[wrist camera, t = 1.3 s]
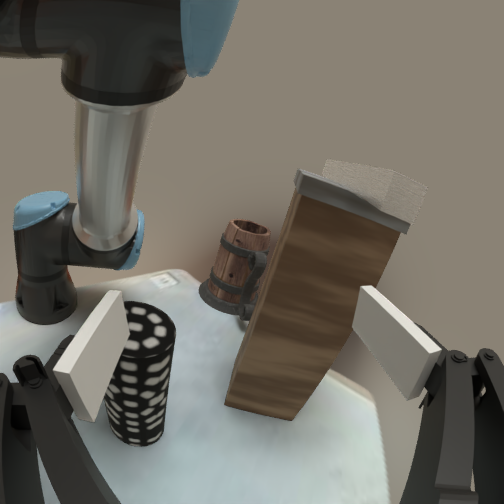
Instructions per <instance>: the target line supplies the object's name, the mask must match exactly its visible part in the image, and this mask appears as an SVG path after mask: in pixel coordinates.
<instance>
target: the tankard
mask: <svg viewBox="0 0 504 504" xmlns="http://www.w3.org/2000/svg"><path fill="white" fill-rule="evenodd" d="M270 234H271V231H270V230H269V229H268V228H267V227H265V226H262V225H259V224H257V223H254V222H252V221H248V220H243V219H234V220H230V222H229V224H228V226H227V228H226V230H225V232H224V233H223V234H222V238H221V241H220V242H221V244H220V247H219V250H218V254H217V257H216V260H215V264H214V266H213V267H212V270H211V273H210V278H209V279H207V280H206V281H205V282H204V283H202V284H201V285H200V287H199V294H200V297H201V298H202V299H203V301H204V302H205V303H206V304H208V305H209V306H211V307H212V308H214V309H216V310H218V311H221V312H223V313H227V314H231V315H239V317H240V319H241V320H245V321H250V319H251V316H252V313H253V310H254V308H255V305H256V302H257V299H258V294H257V292H256V291H257V289H258V287H259V283H260V277H261V275H262V274H263V272H264V270H265V267H266V264H267V258H266V256H267V255H268V252H269V241H270Z"/></svg>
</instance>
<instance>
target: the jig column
mask: <svg viewBox="0 0 504 504" xmlns="http://www.w3.org/2000/svg"><path fill="white" fill-rule="evenodd" d="M294 183H295V186H296V188H295V191H294V194H293V197H292V200H291V203H290V206H289V209H288V212H287V215H286V218H285V221H284V224H283V227H282V230H281V233H280V236H279V239H278V242H277V245H276V248H275V251H274V253H273V256H272V259H271V262H270V265H269V268H268V271H267V274H266V276H265V279H264V282H263V285H262V288H261V291H260V294H259V296H258V299H257V302H256V305H255V308H254V310H253V313H252V316H251V319H250V321H249V324H248V327H247V330H246V333H245V335H244V338H243V341H242V344H241V346H240V349H239V352H238V354H237V357H236V360H235V364H234V368H233V372H232V376H231V380H230V384H229V388H228V391H227V395H226V399H225V403H224V405H226V406H230V407H233V408H237V409H241V410H245V411H248V412H252V413H257V414H261V415H265V416H270V417H274V418H279V419H284V420H290V421H292V420H293V419H294V418H295V416H296V415H297V414H298V412H299V411H300V410H301V408H302V407H303V406H304V404H305V403H306V401H307V400H308V399H309V397H310V396H311V395H312V393H313V392H314V390H315V389H316V387H317V386H318V384H319V383H320V382H321V380H322V379H323V377H324V376H325V374H326V373H327V371H328V370H329V368H330V366H331V365H332V363H333V362H334V360H335V359H336V357H337V355H338V354H339V352H340V351H341V349H342V347H343V346H344V344H345V342H346V341H347V339H348V337H349V336H350V334H351V332H352V331H353V328H352V324H353V320H354V315H355V311H356V306H357V301H358V296H359V291H360V286H371V285H372V286H373V287H374V288H376V286H377V284H378V282H379V280H380V278H381V276H382V274H383V271H384V269H385V267H386V265H387V263H388V261H389V259H390V256H391V254H392V252H393V249H394V247H395V245H396V243H397V240H398V238H399V235H400V233H401V232H402V233H404V234H407V231H408V229H409V226H410V223H408V222H406V221H403V220H401V219H399V218H397V217H394V216H392V215H390V214H387V213H385V212H383V211H380V210H379V209H377V208H376V207H374V206H373V205H371V204H369V203H368V202H366V201H365V200H363V199H362V198H360V197H358V196H357V195H355V194H354V193H352V192H350V191H349V190H347V189H345V188H344V187H342V186H340V185H339V184H337V183H335V182H333V181H332V180H330V179H327V178H325V177H322V176H319V175H316V174H313V173H310V172H307V171H304V170H301V169H298V170H297V173H296V176H295V179H294Z"/></svg>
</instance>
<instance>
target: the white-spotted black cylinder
mask: <svg viewBox="0 0 504 504" xmlns="http://www.w3.org/2000/svg"><path fill="white" fill-rule="evenodd" d="M124 308H125V313H126V318H127V323H128V327H129V332H130V335H129V337H128V339H127V342H126V344H125V346H124V348H123V351H122V353H121V355H120V358H119V360H118V362H117V365H116V367H115V370H114V372H113V375H112V377H111V380H110V382H109V385H108V387H107V390H106V392H105V395H104V400H105V405H106V409H107V414H108V418H109V422H110V426H111V429H112V431H113V432H114V434H115V435H116V436H117V437H118V438H119V439H120V440H122V441H123V442H125V443H127V444H129V445H133V446H148V445H151V444H153V443H155V442H156V441H158V440H159V439H160V437H161V436H162V434H163V431H164V422H165V413H166V404H167V395H168V387H169V379H170V372H171V364H172V357H173V351H174V344H175V338H176V328H175V325H174V323H173V321H172V320H171V318H170V317H169V316H168V315H167V314H166V313H164V312H163V311H162V310H160V309H158V308H156V307H154V306H152V305H149V304H146V303H142V302H135V301H125V302H124Z"/></svg>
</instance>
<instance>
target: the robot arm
mask: <svg viewBox="0 0 504 504" xmlns="http://www.w3.org/2000/svg"><path fill="white" fill-rule="evenodd" d="M238 2H239V0H0V57H3V58H16V59H31V58H61V59H62V69H61V70H62V71H61V84H62V87H63V89H64V91H65V92H66V93H67V94H68V95H69V96H70V97H72V98H74V99H75V119H74V145H75V146H74V147H75V148H74V149H75V171H76V184H77V195H78V203H69V200H70V199H69V197H68V194H67V193H65V192H61V191H47V192H41V193H36V194H33V195H30V196H27V197H25V198H23V199H22V200H20V201H19V202H18V203H17V205H16V206H15V209H14V225H13V230H14V241H15V251H16V260H17V268H18V279H17V286H16V295H15V296H16V297H15V298H16V304H17V308H18V311H19V313H20V314H21V315H22V316H23V317H24V318H25V319H26V320H28V321H30V322H33V323H37V324H52V323H56V322H59V321H62V320H64V319H65V318H67V317H68V316H70V315H71V314H72V313H73V311H74V310H75V308H76V305H77V294H76V289H75V287H74V284H73V282H72V279H71V277H70V274H69V272H68V268H67V265H73V266H83V267H84V266H85V267H95V268H107V269H114V270H122V269H123V270H129V269H132V268H133V267H134V266H135V265H136V263H137V261H138V259H139V255H140V249H141V246H142V242H143V235H144V215H143V213H142V211H140V210H137V209H136V207H135V205H134V203H133V198H134V193H135V188H136V183H137V179H138V174H139V170H140V166H141V162H142V158H143V154H144V151H145V147H146V143H147V140H148V136H149V133H150V129H151V126H152V122H153V119H154V116H155V113H156V110H157V106H158V104H159V103H161V102H163V101H165V100H167V99H169V98H171V97H172V96H174V95H175V94H176V93H177V92H178V91H179V90H180V88H181V86H182V84H183V82H184V79H185V77H186V75H187V74H188V75H189V77H192V78H194V77H196V76H199V77H203V76H206V75H207V74H208V73H209V72H210V70H211V69H212V68H213V66H214V65H215V63H216V61H217V59H218V56H219V54H220V52H221V49H222V47H223V44H224V41H225V39H226V37H227V34H228V31H229V29H230V26H231V23H232V20H233V17H234V14H235V11H236V9H237V5H238ZM352 328H353V329H354V330H355V332H356V333H357V334H358V336H359V337H360V338H361V339H362V341H363V342H364V343H365V345H366V346H367V347H368V349H369V350H370V351H371V353H372V354H373V355H374V357H375V358H376V359H377V361H378V362H379V363H380V365H381V366H382V367H383V369H384V370H385V371H386V373H387V374H388V375H389V377H390V378H391V380H392V381H393V382H394V384H395V385H396V386H397V388H398V389H399V391H400V392H401V393H402V395H403V396H404V398H405V399H406V400H407V401H408V400H410V399H413V398H416V397H419V395H420V394H421V392H422V390H423V388H424V387H425V388H426V389H427V391H428V392H427V394H426V395H425V397H424V399H423V401H422V402H421V404H420V406H419V408H421V407H422V405H424V407H423V414H422V420H421V426H420V431H419V436H418V441H417V445H416V450H415V454H414V458H413V462H412V466H411V470H410V473H409V476H408V480H407V483H406V486H405V489H404V492H403V495H402V498H401V501H400V504H504V366H503V364H502V362H501V360H500V359H499V357H498V355H497V354H496V353H495V352H494V351H493V350H490V349H486V348H483V349H481V350H480V351H479V353H478V355H477V357H476V358H468V357H467V356H466V354H464V353H462V352H460V351H457V350H451V351H448V350H447V349H446V348H445V347H443V346H442V345H441V344H440V343H439V342H438V341H437V340H436V339H435V338H433V336H432V335H431V334H429V333H428V332H427V331H426V330H425V329H424V328H423V327H422V326H420V325H418V324H416V323H414V322H412V321H411V320H410V319H409V318H408V317H406V316H405V315H404V314H403V313H402V312H401V311H400V310H399V309H398V308H396V307H395V306H394V305H393V304H392V303H391V302H390V301H388V299H386V298H385V297H384V296H383V295H382V294H381V293H379V292H378V291H377V290H376V289H375V288H374V287H373V286H372V285H371V286H360V291H359V296H358V301H357V306H356V311H355V315H354V320H353V324H352ZM129 335H130V332H129V327H128V323H127V318H126V313H125V308H124V302H123V297H122V291H116V290H109V291H108V292H107V293H106V295H105V296H104V297H103V298H102V300H101V301H100V302H99V304H98V305H97V306H96V308H95V309H94V310H93V312H92V313H91V314H90V316H89V317H88V319H87V320H86V321H85V323H84V324H83V326H82V327H81V328H80V330H79V331H78V333H77V334H76V335H69V336H68V337H67V338H65V339H64V340H62V342H61V343H60V345H59V346H58V349H56V350H55V352H54V354H53V355H52V356H51V357H50V359H49V360H48V362H47V363H46V365H45V366H44V367H43V364H42V362H41V360H40V359H39V357H37V356H35V355H27V356H23V357H21V358H20V359H18V360H17V361H16V362H15V364H14V365H13V371H14V373H15V375H16V377H17V379H18V381H19V383H10V381H9V379H8V378H7V376H6V375H5V374H3V373H0V504H45V502H44V497H43V492H42V487H41V481H40V474H39V467H38V458H37V448H38V451H39V454H40V457H41V460H42V462H43V465H44V467H45V470H46V472H47V475H48V477H49V480H50V482H51V484H52V486H53V489H54V491H55V493H56V495H57V497H58V499H59V501H60V503H61V504H121V503H120V501H119V500H118V499H117V497H116V496H115V494H114V493H113V492H112V490H111V489H110V487H109V486H108V484H107V482H106V481H105V479H104V478H103V476H102V475H101V473H100V471H99V470H98V468H97V466H96V465H95V463H94V461H93V459H92V458H91V456H90V454H89V452H88V450H87V448H86V446H85V445H84V443H83V441H82V439H81V437H80V435H79V433H78V430H77V428H76V426H75V424H74V422H73V420H72V419H71V415H72V412H73V410H74V412H75V414H76V416H77V417H78V419H80V420H85V421H89V422H95V419H96V416H97V414H98V411H99V408H100V405H101V403H102V400H103V397H104V395H105V392H106V390H107V387H108V385H109V382H110V380H111V377H112V375H113V372H114V370H115V367H116V365H117V362H118V360H119V358H120V355H121V353H122V351H123V348H124V346H125V344H126V342H127V339H128V337H129ZM484 386H485V388H486V392H485V394H484V395H483V396H482V393H481V391H482V390H483V388H484ZM36 445H37V446H36ZM472 469H473V474H474V483H475V492H473V491H471V489H470V486H471V478H472Z"/></svg>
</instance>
